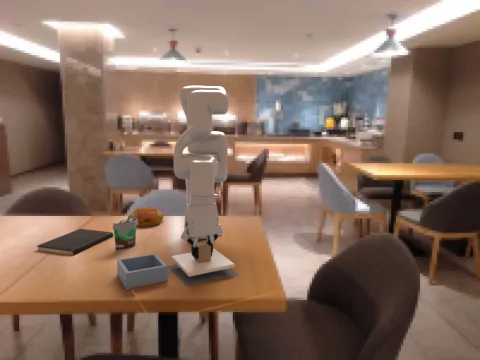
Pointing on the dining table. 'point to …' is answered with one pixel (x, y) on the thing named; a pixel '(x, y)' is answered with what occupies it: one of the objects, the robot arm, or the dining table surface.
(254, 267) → the dining table surface
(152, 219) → the croissant
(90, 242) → the hardcover book
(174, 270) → the mat
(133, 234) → the food container
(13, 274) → the dining table surface
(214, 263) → the lid
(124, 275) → the dish
